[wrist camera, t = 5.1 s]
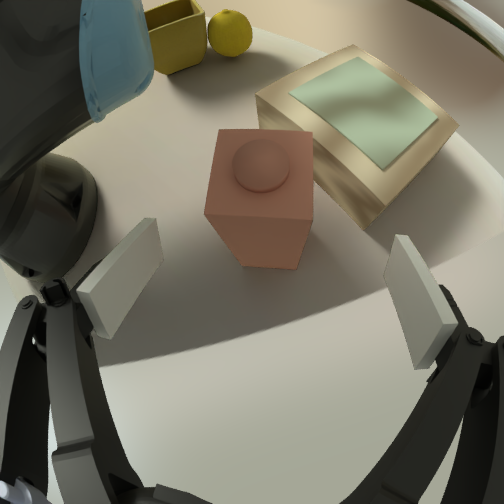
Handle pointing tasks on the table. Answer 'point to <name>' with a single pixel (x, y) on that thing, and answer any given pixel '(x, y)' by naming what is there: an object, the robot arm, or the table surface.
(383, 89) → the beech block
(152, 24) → the flower pot
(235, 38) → the lemon
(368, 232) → the table surface
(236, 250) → the pink knobbed block
